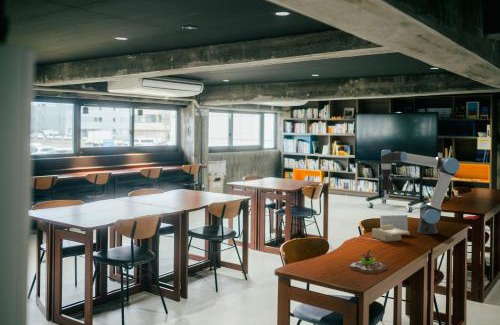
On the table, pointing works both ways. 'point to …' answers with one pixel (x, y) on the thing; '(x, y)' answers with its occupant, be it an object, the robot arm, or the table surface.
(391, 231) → the lid
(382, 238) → the mailer base
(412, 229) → the table surface
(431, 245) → the table surface
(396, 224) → the skincare box
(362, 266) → the plant
